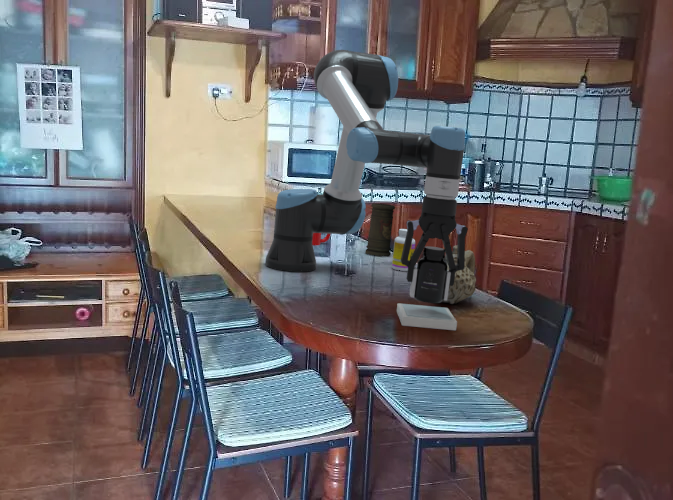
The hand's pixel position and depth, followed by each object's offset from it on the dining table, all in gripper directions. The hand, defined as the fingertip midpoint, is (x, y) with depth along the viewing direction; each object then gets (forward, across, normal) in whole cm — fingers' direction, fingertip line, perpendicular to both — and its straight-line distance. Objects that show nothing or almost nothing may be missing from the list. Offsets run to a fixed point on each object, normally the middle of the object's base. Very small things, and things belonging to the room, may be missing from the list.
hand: (428, 297), depth 149 cm
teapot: (+6, +10, +22) cm, 25 cm away
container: (+6, -5, +86) cm, 86 cm away
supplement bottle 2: (+1, 0, 0) cm, 1 cm away
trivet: (+6, 0, 0) cm, 6 cm away
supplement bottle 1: (+6, +1, +61) cm, 61 cm away
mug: (+5, -28, +97) cm, 101 cm away
